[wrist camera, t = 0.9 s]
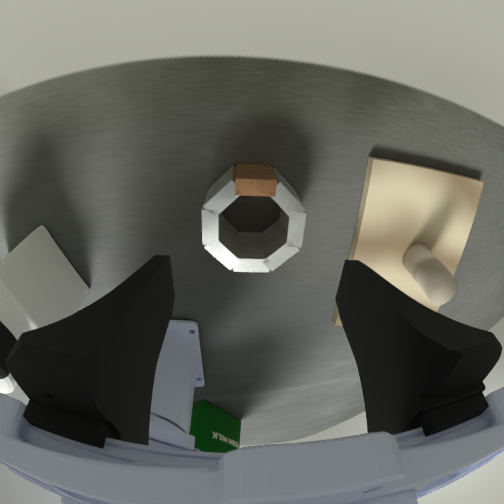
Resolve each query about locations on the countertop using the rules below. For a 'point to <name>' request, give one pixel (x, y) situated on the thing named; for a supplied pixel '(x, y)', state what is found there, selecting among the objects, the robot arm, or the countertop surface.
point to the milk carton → (214, 428)
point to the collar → (252, 243)
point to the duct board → (414, 227)
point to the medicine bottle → (34, 293)
